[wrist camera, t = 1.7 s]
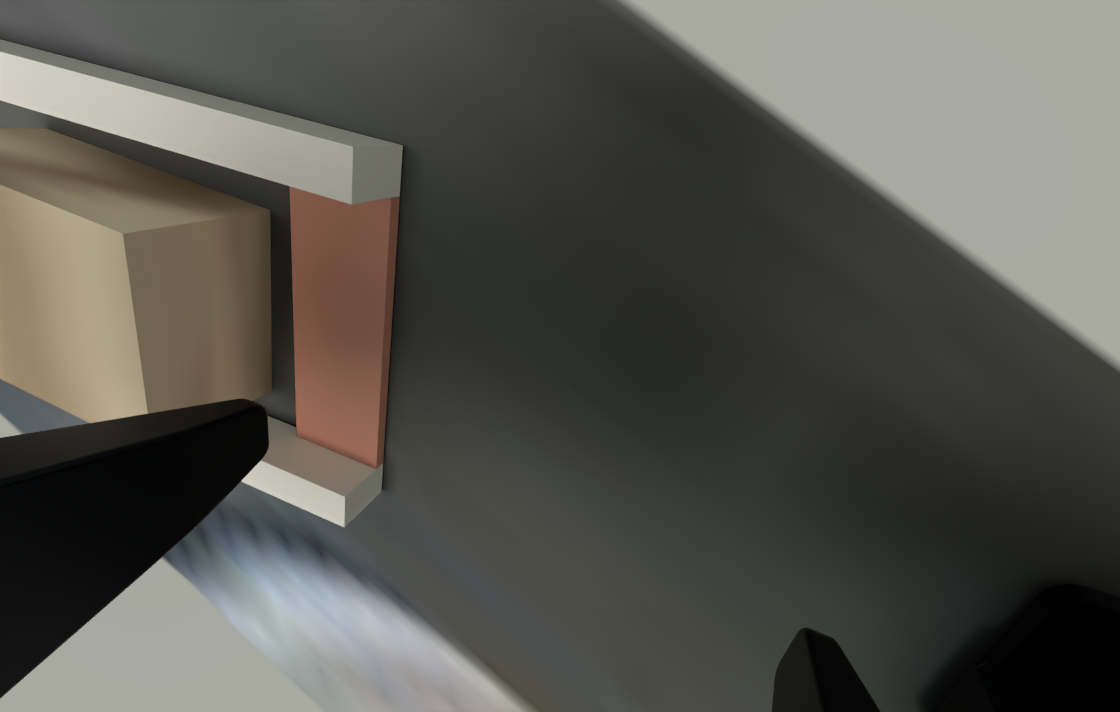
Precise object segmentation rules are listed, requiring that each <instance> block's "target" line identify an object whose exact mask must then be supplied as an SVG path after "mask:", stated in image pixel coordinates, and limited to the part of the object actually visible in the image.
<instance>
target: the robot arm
mask: <svg viewBox="0 0 1120 712" xmlns="http://www.w3.org/2000/svg"><path fill="white" fill-rule="evenodd" d="M268 448H269V430H268V414H267V410H266V409H265V407H264V406H262V405H260V404H258V403H255V402H253V401H250V400H248V399H244V398H239V399H233V400H227V401H221V402H215V403H209V404H203V405H197V406H190V407H184V408H178V409H172V410H166V411H160V412H154V413H148V414H142V415H136V416H130V417H124V418H118V419H112V420H106V421H100V422H94V423H88V424H82V425H76V426H70V427H64V428H58V429H52V430H46V431H40V432H33V433H27V434H21V435H15V436H10V437H3V438H0V698H1V697H3V696H4V695H5V694H6V693H7V692H8V691H9V690H11V689H12V688H13V687H14V686H15V685H16V684H17V683H19V682H20V681H21V680H22V679H23V678H24V677H25V676H27V675H28V674H29V673H30V672H31V671H32V670H33V669H35V668H36V667H37V666H38V665H39V664H40V663H42V662H43V661H44V660H45V659H46V658H47V657H48V656H50V655H51V654H52V653H53V652H54V651H55V650H56V649H57V648H59V647H60V646H61V645H62V644H63V643H64V642H65V641H67V640H68V639H69V638H70V637H71V636H72V635H74V634H75V633H76V632H77V631H78V630H79V629H80V628H82V627H83V626H84V625H85V624H86V623H87V622H88V621H90V620H91V619H92V618H93V617H94V616H95V615H97V613H99V612H100V611H101V610H102V609H103V608H105V607H106V606H107V605H108V604H109V603H110V602H111V601H113V600H114V599H115V598H116V597H117V596H118V595H119V594H120V593H122V592H123V591H124V590H125V589H126V588H127V587H129V586H130V585H131V584H132V583H133V582H134V581H135V580H137V579H138V578H139V577H140V576H141V575H142V574H143V573H144V572H146V571H147V570H148V569H149V568H150V567H152V565H154V564H155V563H156V562H157V561H158V560H159V559H161V558H162V557H163V556H164V555H165V554H166V553H168V552H169V551H170V550H171V549H172V548H173V547H174V546H176V545H177V544H178V543H179V542H180V541H181V540H182V539H184V538H185V537H186V536H187V535H188V534H189V533H190V532H191V531H192V530H194V529H195V528H196V527H197V526H198V525H199V524H200V523H201V522H202V521H203V520H204V519H205V518H206V517H207V516H208V515H209V514H210V513H211V512H212V511H213V510H214V509H215V508H216V507H217V506H218V505H219V503H220V502H221V501H222V500H223V499H224V498H225V497H226V496H227V495H228V494H229V493H230V492H231V491H232V490H233V489H234V488H235V487H236V486H237V485H238V484H239V483H240V482H241V481H242V480H243V479H244V478H245V477H246V475H247V474H248V473H249V472H250V471H251V470H252V469H253V468H254V467H255V466H256V465H257V464H258V463H259V462H260V461H261V460H262V459H263V458H264V456H265V455H266V453H267V451H268ZM1074 613H1083V614H1081V615H1080V616H1076V617H1067V616H1068V615H1070V614H1074ZM772 712H880V710H879V708H878V707H877V705H876V704H875V702H874V700H873V699H872V697H871V696H870V694H869V692H868V691H867V689H866V688H865V686H864V684H863V683H862V681H861V680H860V678H859V676H858V675H857V673H856V671H855V670H854V668H853V667H852V665H851V663H850V662H849V660H848V659H847V657H846V655H845V654H844V652H843V651H842V649H841V647H840V646H839V644H838V643H837V642H836V641H835V640H834V639H833V638H831V637H829V636H827V635H824V634H822V633H819V632H817V631H815V630H812V629H810V628H802V629H801V630H799V631H798V633H797V634H796V636H795V638H794V639H793V641H792V643H791V644H790V646H789V648H788V649H787V651H786V652H785V654H784V656H783V657H782V659H781V661H780V663H779V665H778V667H777V671H776V675H775V681H774V693H773V704H772ZM935 712H1120V599H1119V598H1116V597H1113V596H1110V595H1108V594H1105V593H1102V592H1099V591H1096V590H1093V589H1091V588H1088V587H1084V586H1079V585H1074V584H1065V585H1056V586H1053V587H1050V588H1046V589H1045V590H1044V591H1042V592H1041V593H1040V594H1038V595H1037V596H1036V597H1035V599H1034V600H1033V601H1032V602H1031V603H1030V604H1029V605H1028V607H1027V608H1026V609H1025V610H1024V611H1023V612H1022V613H1021V615H1020V616H1019V617H1018V618H1017V619H1016V620H1015V621H1014V623H1013V624H1012V625H1011V626H1010V627H1009V628H1008V629H1007V631H1006V632H1005V633H1004V634H1003V635H1002V636H1001V637H1000V639H999V640H998V641H997V642H996V643H995V644H994V645H993V647H992V648H991V649H990V650H989V651H988V652H987V653H986V655H985V656H984V657H983V658H982V659H981V660H980V662H979V663H978V664H977V665H976V666H975V667H974V668H973V669H972V670H971V671H970V672H969V674H968V675H967V676H966V677H965V678H964V679H963V680H962V682H961V683H960V684H959V685H958V686H957V687H956V689H955V690H954V691H953V692H952V693H951V694H950V695H949V697H948V698H947V699H946V700H945V701H944V702H943V703H942V705H941V706H940V707H939V708H938V709H937V710H936V711H935Z"/></svg>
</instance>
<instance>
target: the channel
mask: <svg viewBox="0 0 1120 712" xmlns="http://www.w3.org/2000/svg"><path fill="white" fill-rule="evenodd" d="M0 100H1V101H4V102H8V103H11V104H14V105H18V106H21V107H24V108H28V109H31V110H35V111H38V112H41V113H45V114H48V115H51V116H55V117H58V118H61V119H65V120H68V121H72V122H75V123H78V124H82V125H85V126H88V127H92V128H95V129H99V130H102V131H105V132H109V133H112V134H115V135H119V136H122V137H125V138H129V139H132V140H136V141H139V142H142V143H146V144H149V145H152V146H156V147H159V148H163V149H166V150H169V151H173V152H176V153H179V154H183V155H186V156H189V157H193V158H196V159H200V160H203V161H206V162H210V163H213V164H216V165H220V166H223V167H227V168H230V169H233V170H237V171H240V172H243V173H247V174H250V175H254V176H257V177H260V178H264V179H267V180H270V181H274V182H277V183H280V184H284V185H287V186H290V216H291V251H292V286H293V322H294V357H295V393H296V427H294V426H292V425H289V424H287V423H284V422H282V421H280V420H277V419H275V418H272V417H270V416H268V430H269V448H268V451H267V453H266V455H265V456H264V458H263V459H262V460H261V461H260V462H259V463H258V464H257V465H256V466H255V467H254V468H253V469H252V470H251V471H250V472H249V473H248V474H247V475H246V477H245V478H244V479H243V480H242V481H241V482H244V483H246V484H248V485H250V486H253V487H255V488H257V489H259V490H261V491H264V492H266V493H268V494H270V495H273V496H275V497H277V498H279V499H282V500H284V501H286V502H288V503H291V504H293V505H295V506H297V507H300V508H302V509H304V510H306V511H308V512H311V513H313V514H315V515H317V516H320V517H322V518H324V519H326V520H329V521H331V522H333V523H335V524H338V525H340V526H342V527H345V526H346V525H348V524H349V523H350V522H351V521H352V520H353V519H354V518H355V517H356V516H357V515H358V514H359V513H360V512H361V511H362V510H363V509H364V508H365V507H366V506H367V505H368V504H369V503H370V502H371V501H372V500H373V499H374V498H375V497H376V496H378V495H379V494H380V493H381V489H382V473H383V457H384V441H385V425H386V409H387V393H388V377H389V361H390V344H391V328H392V312H393V296H394V280H395V264H396V248H397V232H398V216H399V199H400V183H401V167H402V151H403V145H400V144H396V143H392V142H388V141H385V140H381V139H377V138H373V137H369V136H366V135H362V134H358V133H354V132H350V131H347V130H343V129H339V128H335V127H331V126H328V125H324V124H320V123H316V122H312V121H309V120H305V119H301V118H297V117H293V116H290V115H286V114H282V113H278V112H274V111H271V110H267V109H263V108H259V107H255V106H252V105H248V104H244V103H240V102H236V101H233V100H229V99H225V98H221V97H217V96H214V95H210V94H206V93H202V92H198V91H195V90H191V89H187V88H183V87H179V86H176V85H172V84H168V83H164V82H160V81H157V80H153V79H149V78H145V77H141V76H138V75H134V74H130V73H126V72H122V71H119V70H115V69H111V68H107V67H104V66H100V65H96V64H92V63H88V62H85V61H81V60H77V59H73V58H69V57H66V56H62V55H58V54H54V53H50V52H47V51H43V50H39V49H35V48H31V47H28V46H24V45H20V44H16V43H12V42H9V41H5V40H1V39H0Z"/></svg>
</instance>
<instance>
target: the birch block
mask: <svg viewBox="0 0 1120 712" xmlns="http://www.w3.org/2000/svg"><path fill="white" fill-rule="evenodd" d="M0 379H2V380H4V381H6V382H8V383H10V384H12V385H14V386H16V387H18V388H20V389H22V390H24V391H26V392H28V393H30V394H32V395H34V396H36V397H38V398H40V399H42V400H44V401H46V402H49V403H51V404H53V405H55V406H57V407H59V408H61V409H63V410H65V411H67V412H69V413H71V414H73V415H75V416H77V417H79V418H81V419H83V420H85V421H87V422H89V423H94V422H100V421H106V420H112V419H118V418H124V417H130V416H136V415H142V414H148V413H154V412H160V411H166V410H172V409H178V408H184V407H190V406H197V405H203V404H209V403H215V402H221V401H227V400H233V399H239V398H244V399H248V400H250V401H254V400H256V399H258V398H260V397H261V396H263V395H265V394H267V393H269V392H271V391H272V343H271V224H270V210H268V209H266V208H263V207H260V206H257V205H255V204H252V203H249V202H247V201H244V200H241V199H238V198H236V197H233V196H230V195H227V194H225V193H222V192H219V191H216V190H214V189H211V188H208V187H205V186H203V185H200V184H197V183H194V182H192V181H189V180H186V179H184V178H181V177H178V176H175V175H173V174H170V173H167V172H164V171H162V170H159V169H156V168H153V167H151V166H148V165H145V164H142V163H140V162H137V161H134V160H131V159H129V158H126V157H123V156H120V155H118V154H115V153H112V152H110V151H107V150H104V149H101V148H99V147H96V146H93V145H90V144H88V143H85V142H82V141H79V140H77V139H74V138H71V137H68V136H66V135H63V134H60V133H57V132H55V131H52V130H49V129H47V128H0Z"/></svg>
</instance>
